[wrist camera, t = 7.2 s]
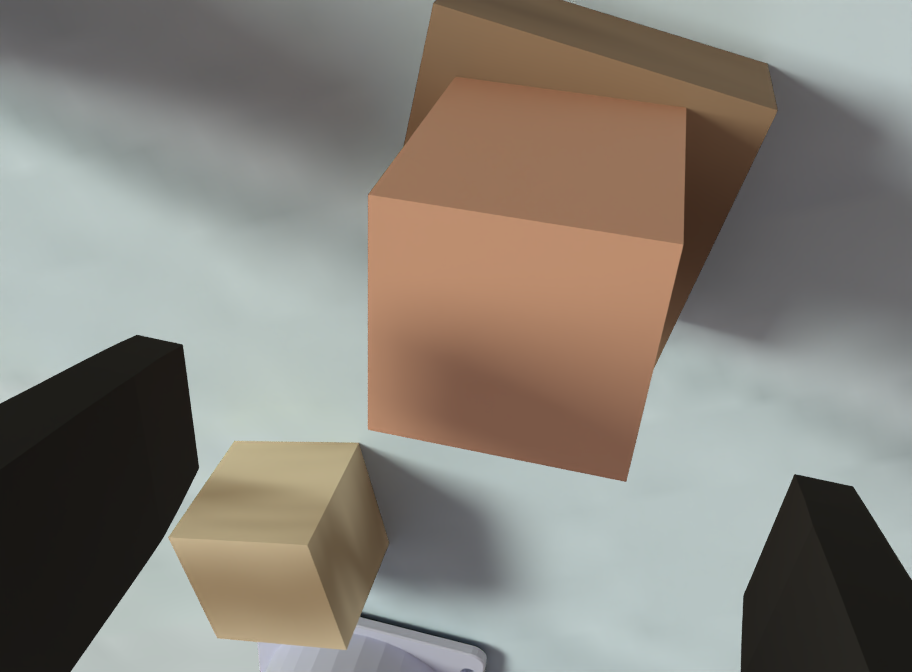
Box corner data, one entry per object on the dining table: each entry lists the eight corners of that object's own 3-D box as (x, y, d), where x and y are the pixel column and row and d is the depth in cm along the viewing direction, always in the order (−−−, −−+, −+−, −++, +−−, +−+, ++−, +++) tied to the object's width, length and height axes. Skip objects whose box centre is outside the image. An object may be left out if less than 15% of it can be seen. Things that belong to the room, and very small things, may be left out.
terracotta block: (642, 306, 17) (625, 481, 13) (444, 272, 17) (367, 429, 13) (686, 107, 14) (683, 244, 10) (456, 76, 15) (368, 194, 11)
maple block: (389, 541, 26) (346, 650, 23) (274, 535, 28) (217, 638, 24) (359, 440, 24) (307, 545, 21) (235, 439, 25) (168, 537, 22)
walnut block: (653, 305, 20) (648, 381, 18) (412, 226, 20) (374, 290, 18) (766, 58, 16) (777, 110, 14) (471, -33, 17) (433, 3, 14)
